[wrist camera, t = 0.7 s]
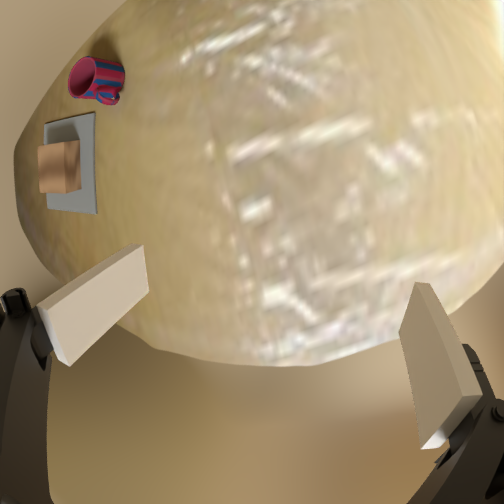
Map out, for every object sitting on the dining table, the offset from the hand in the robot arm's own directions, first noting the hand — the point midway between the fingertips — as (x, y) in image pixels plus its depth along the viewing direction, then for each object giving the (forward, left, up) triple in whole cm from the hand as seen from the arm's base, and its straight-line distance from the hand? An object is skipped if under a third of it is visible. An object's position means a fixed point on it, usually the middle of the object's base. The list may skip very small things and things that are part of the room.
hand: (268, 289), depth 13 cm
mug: (-15, -31, -26) cm, 43 cm away
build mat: (-2, -43, -25) cm, 50 cm away
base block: (-2, -43, -25) cm, 50 cm away
